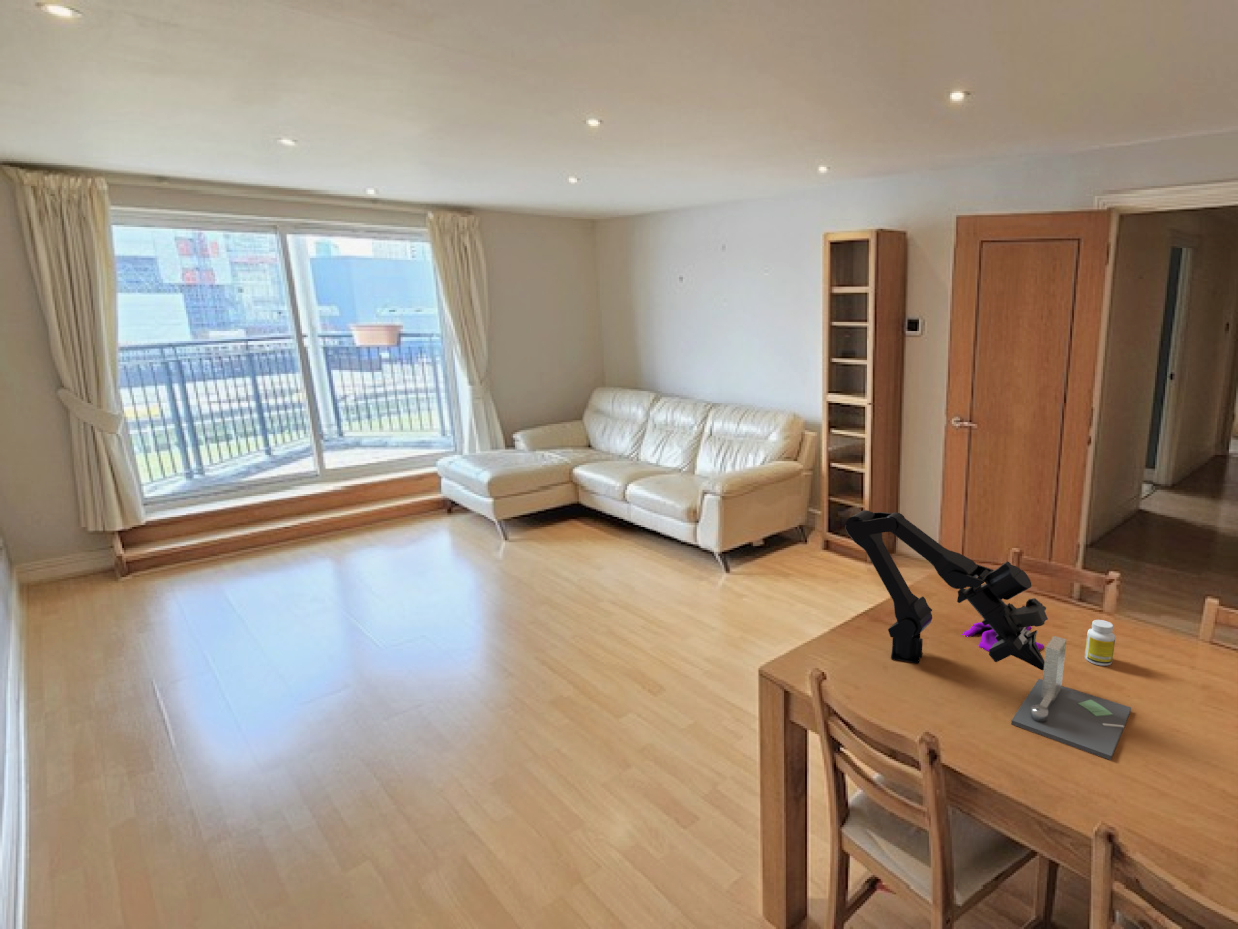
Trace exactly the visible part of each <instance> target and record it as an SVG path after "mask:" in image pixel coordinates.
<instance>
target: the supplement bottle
mask: <svg viewBox="0 0 1238 929" xmlns="http://www.w3.org/2000/svg"><path fill="white" fill-rule="evenodd" d="M1091 622H1092V624H1091V628H1089V629H1088V630H1087V635H1086V640H1085V641H1086V642H1085V649H1084V659H1085V660H1086V661H1087V662H1089V663H1092V664H1093V665H1097V666H1102V667H1103V666H1104V667H1105V666H1110V665H1111V664H1112V663H1113V660H1114V659H1113V658H1114V650H1115V642H1116V635H1115V634H1114V633H1113V630H1114V625H1113V623H1112V622H1110V621H1106V620H1103V619H1094V620H1093V621H1091Z"/></svg>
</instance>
